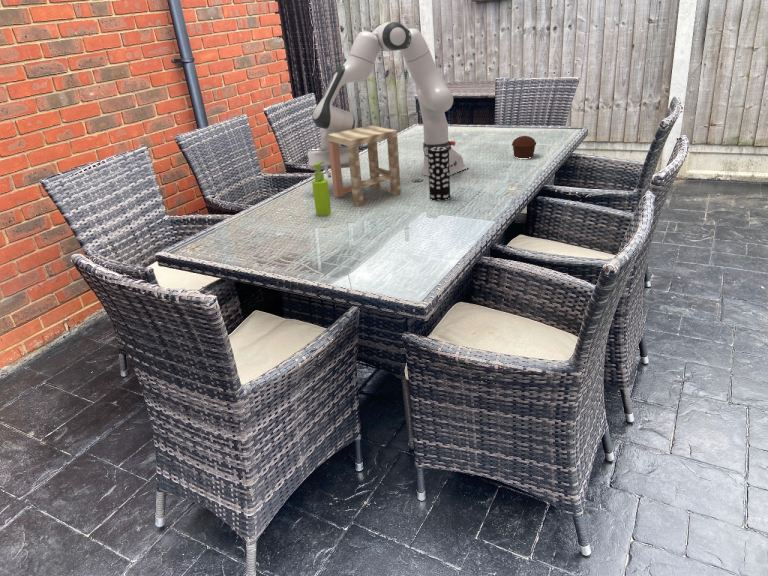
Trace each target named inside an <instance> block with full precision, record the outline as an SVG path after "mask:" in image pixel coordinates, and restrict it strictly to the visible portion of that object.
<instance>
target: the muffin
mask: <svg viewBox="0 0 768 576" xmlns="http://www.w3.org/2000/svg"><path fill="white" fill-rule="evenodd" d="M536 146H537V142H536V140H535V139H534V138H533V137H531V136H529V135H528V136H527V135H521V136H518V137H516V138H514V140H513V141H512V143H511V147H512V149H513V157H514V156H515V157H518V158H529V157H532V156H533V157H534V154H535V150H536V149H535V148H536ZM515 157H514V158H515Z"/></svg>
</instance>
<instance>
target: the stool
mask: <svg viewBox="0 0 768 576" xmlns="http://www.w3.org/2000/svg"><path fill="white" fill-rule="evenodd" d="M327 137H328V141H331V142H335V143H338V144H342V145H346V146H348V155H349V165H350V167H349V173H350V184H351V185H352V191H351V193H352V203H353V204H352V205H353V206H354V207H355V206H356V207H361V206H364V204H365V203H364V195H363V194H364V192H363V188H364V187H365V188H366V187H369V186H370V188H371V189H378V188H381V183H384V182H387V181H389V184H390V194H391V196H392V195H393V196H395V195H396V196H399V195H401V194H402V191H401V190H402V189H401V173H400V160H399V146H398V145H399V143H398V130H397V129H393V128H387V127H382V126H376V125H367V126H362V127H358V128H357V127H356V128H354V129H351V130H347V131H342V132H337V133H332V134H328V135H327ZM384 140H386V142H387V155H388V159H387V160H388V168H389V169H385V168H381V167H380V165H379V164H380V163H379V152H378V142H379V141H384ZM362 145H367V157H368V168H369V179H366V180H365V179H364V180H362V172H361V171H362V170H361V161H360V153H359V152H360V149H359V146H362ZM380 175H381V176H380Z"/></svg>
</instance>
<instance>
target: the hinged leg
mask: <svg viewBox="0 0 768 576" xmlns="http://www.w3.org/2000/svg"><path fill="white" fill-rule="evenodd" d="M328 145H329V154H330V163H331V169H330V170H331V171H330V172H331V178H332V179H331V180H332V187H333V197H335V198H337V199H338V198H342V197H344V196H345V195H344V194H346V193H350V192H352V185H347V186H344V181H343V174H342V168H341V163H340V153H339V144H338V143H335V142H328Z"/></svg>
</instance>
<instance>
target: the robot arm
mask: <svg viewBox="0 0 768 576" xmlns="http://www.w3.org/2000/svg"><path fill="white" fill-rule="evenodd" d="M393 51H394V52H395V51H400V53H401V54H402V56H403V59H404V61H405V63H406V65H407V69H408V71H409V73H410V75H411V78H412V79H413V81H414V83H415V84H416V86H417V87H418V88H419V89H418V90H417V97H416V98H417V100H418V104H419V111H420V115H421V116H420V117H421V119H422V121H421V122H422V125H423V129H422V130H423V143H422V144H423V145H422V147H423V155H424V156H423V166H422V170H421V174H422V175H424V176H426V177H427V176H428V177H429V166H428V149H429V148H431V147H437V146H444V147H448V148H449V167H450V175H451V176H453V175H452V174H454V173H456V174H458V173H457V172H459V171H461V172H463V171H462V170H464V169H466V168H468V169H469V165H467V164H464V158H463V156H462V155H461V154H460V153H458V151H456V150H455V149H453V148H452V146H453V147H454V146H456V141H455V140H454V141H453V140H449V123H448V120H447V117H446V113H445V112H448V111H449V110H450V109H451V108H452V106H453V104H454V95H453V94H452V92H451V91H450V89H449V88H448V86H447V83H446V81H445V79H444V78H443V76H442V75H441V73H440V71H439V69H438V67H437V65H436V63H435V60H434V58H433V56H432V53H431V51H430V48H429V45H428V44H427V41H426V39H425V38H424V36H423V34H422V33H421V31H420V30H419V29H418V28H412V27H411V28H407V27H405V25H403V24H402V23H400V22H397V21H386V22H384V23H379V24H377V25H376V26H375V27H374V28H373V29H372V30H371V31H368V30H367V31H366V30H364V31H360V32H359V33H358V34H357V36H356V37H355V39H354V41H353V43H352V46H351V48H350V50H349V53H348V56H347V59H346V61H345V62H344V63H343V64H342V65H339V66H337V68H336V69H335V70H334V72H333V73H332V76H331V78H330V79H329V81H328V83H327V86H326V88H325V89H324V92H323V94H322V96H321V98H320V99H319V101H318V103H317V104H316V106H315V108H314V109H313V112H312V120H313V122H314V124H315V126H316V127H317V128H319V134H320V137H321V139H320V148H311V149H310V150H308V151H307V154H306V155H307V158H308V163H307V165H308V168H309V169H310V171H316V166H314V164H315V163H317V162H324V163H322V164H321V165H320V169H321V170H324V172H325V173H326V175H327V178H329V179H331V178H332V171H329V170H331V163H330V154H329V145H328V142H331V141H328V137H327V135H328V134H332V133H337V132H342V131H347V130H351V129H355V126H356V119H355V115H354V114H353V113H352V112H350V111H348V110H345V109H342V108H339V107H336V106H333V103H334V101H335V100H336V97H337V96H338V93H339V92H340V89H341V88H342V87H343V86H344V85H346V84H348V83H360V82H364V81H366V80H367V79H368V78H369V77H370V76H371V74H372V73H373V70H374V66H375V62H376V59H377V57H378V55H379V53H380V52H393ZM339 153H340V163H341V169H346V168H347V169H348V168H349V169H350V165H349V155H348V146H346V145H342V144H339ZM466 170H467V169H466ZM464 171H465V170H464ZM459 173H460V172H459ZM454 175H455V174H454Z"/></svg>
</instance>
